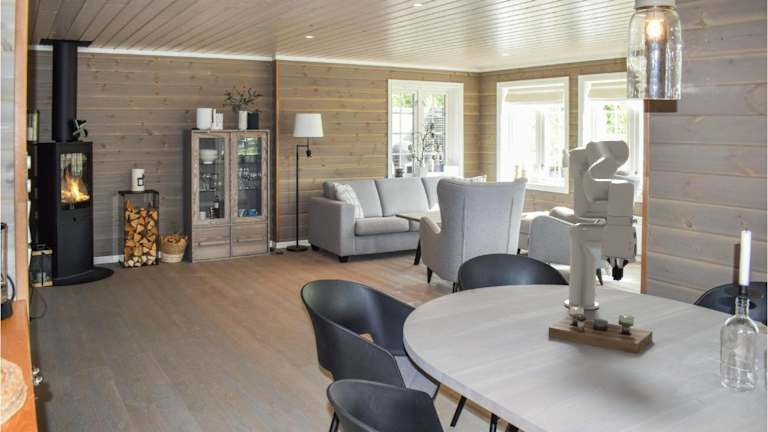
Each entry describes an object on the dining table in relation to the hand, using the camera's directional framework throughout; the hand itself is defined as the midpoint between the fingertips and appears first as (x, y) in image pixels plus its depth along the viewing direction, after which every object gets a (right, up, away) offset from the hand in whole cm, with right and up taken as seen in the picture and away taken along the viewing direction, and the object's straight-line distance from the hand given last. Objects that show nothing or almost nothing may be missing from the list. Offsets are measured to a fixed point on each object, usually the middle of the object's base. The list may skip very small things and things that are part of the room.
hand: (617, 279), depth 218 cm
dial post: (-11, -17, +3) cm, 20 cm away
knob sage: (+3, -17, +1) cm, 17 cm away
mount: (-4, -19, +6) cm, 20 cm away
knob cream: (-10, -15, +10) cm, 21 cm away
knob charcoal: (-4, -19, +6) cm, 20 cm away
